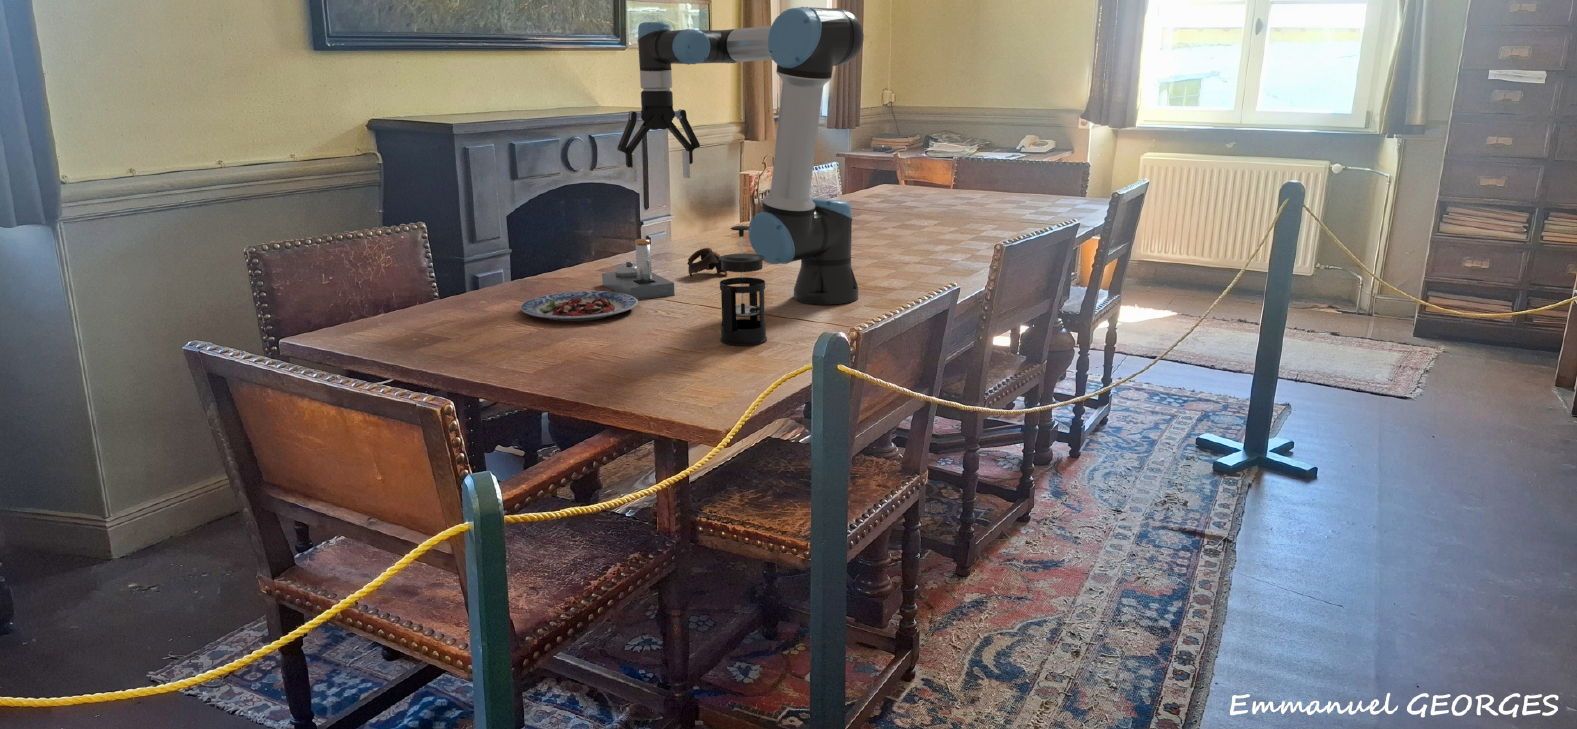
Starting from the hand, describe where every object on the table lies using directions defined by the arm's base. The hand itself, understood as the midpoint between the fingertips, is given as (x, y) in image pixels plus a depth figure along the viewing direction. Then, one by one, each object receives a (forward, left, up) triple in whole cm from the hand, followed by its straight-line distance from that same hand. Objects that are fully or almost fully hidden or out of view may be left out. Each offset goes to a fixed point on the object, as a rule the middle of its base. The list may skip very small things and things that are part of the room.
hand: (660, 179), depth 265 cm
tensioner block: (-4, +9, -26) cm, 28 cm away
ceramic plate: (-19, +28, -26) cm, 43 cm away
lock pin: (-9, +9, -26) cm, 29 cm away
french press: (-60, +8, -26) cm, 66 cm away
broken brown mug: (+3, -13, -26) cm, 29 cm away
